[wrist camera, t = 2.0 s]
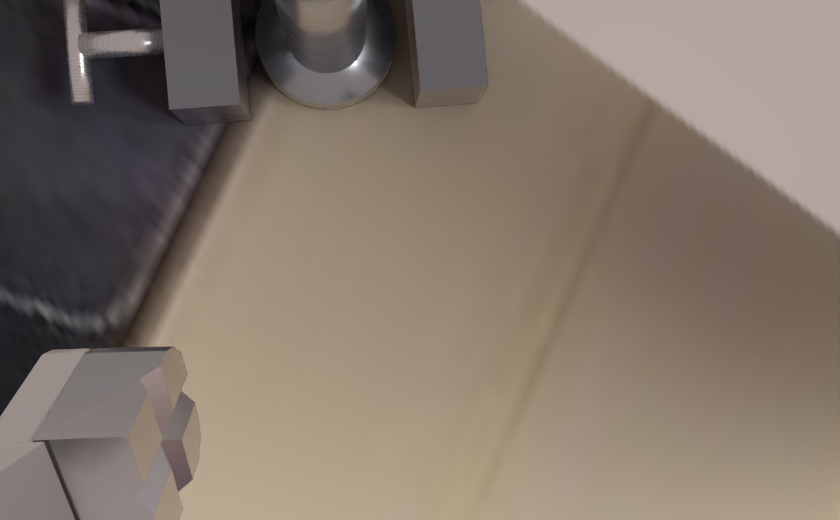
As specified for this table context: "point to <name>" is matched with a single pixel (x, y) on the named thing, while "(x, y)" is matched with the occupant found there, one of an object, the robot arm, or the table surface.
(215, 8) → the vise
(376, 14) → the grey tall rounded piece
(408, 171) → the table surface
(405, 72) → the table surface
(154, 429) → the robot arm
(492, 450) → the table surface
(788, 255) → the table surface
